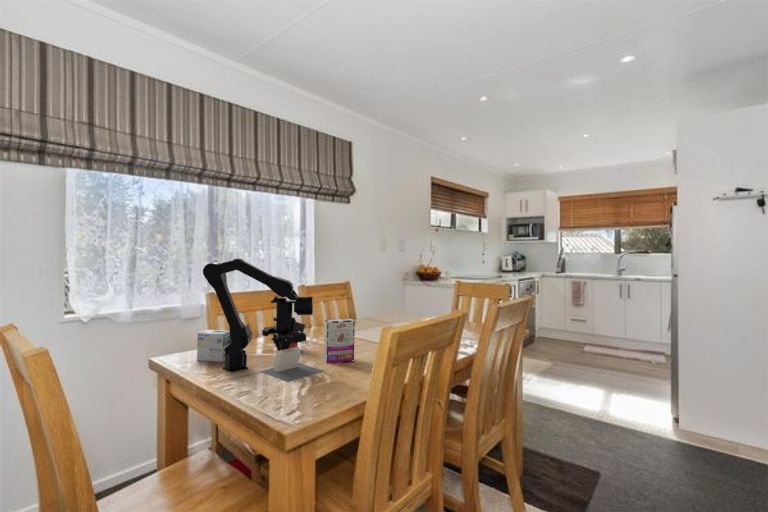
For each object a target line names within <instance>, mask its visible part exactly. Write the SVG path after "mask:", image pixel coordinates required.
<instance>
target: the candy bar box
mask: <svg viewBox="0 0 768 512" xmlns="http://www.w3.org/2000/svg"><path fill="white" fill-rule="evenodd" d="M355 324H356V322H355V319H354V318H339V319H337V318H335V319H324V349H323V350H324V356H323V357H324V358H323V359H324V362H325V363H326V364H333V363H334V362H337V363H344V362H343V361H352V360H354V361H355ZM334 364H335V363H334Z"/></svg>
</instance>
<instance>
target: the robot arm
mask: <svg viewBox="0 0 768 512" xmlns="http://www.w3.org/2000/svg"><path fill="white" fill-rule="evenodd" d="M234 271H239V272H240V273H242V274H244V275H245V276H247V277H250V278H251V279H254V280H256V281H258V282H260V284H263V285H265V286H266V287H268V288H269V289H270V290H271V291H272V292H273V293H275V294H276V295H275V296H274V297H273V298H272V299H271V301H270V304H276V305H275V306H276V307H275V317H273V322H275V325H273V326H266V327H263V329H262V331H261V335H262V336H263V337H268V336H269V335H273V336H272V338H271V341H272V342H273V344H274V346H275V348H276V349H277V351H280V350H285V349H288V348H289V346H290V344H291V343H298V344H299V343H302V342H303V343H304V342H306V341H307V334H306V333H305V332H304V331H305V328H306V324H304V323H301V322H298V321H297V320H296V318H295V317H293V313H295V314H296V316H313V315H314V314H313V313H314V304H313V303H314V302H313V300H314V299H313V298H314V297H313V296H299V295H298V293H296V291H295V290H294V284H293V283H292V282H291V280H288V279H286V278H282V277H278V276H274V275H272V274H270V273H268V272H266V271H264V270H262V269H260V268H259V267H256V266H255V265H253V264H251V263H249V262H247V261H245V260H244V259H242V258H235V259H233V260H230V261H226V262H225V261H224V262H221V263H220V262H211V263H207V264H206V265H205V266H204V267H203V269H202V275H203V277H204V278H205V280H206V281H207V283H208V284H209V285H210V286H211V288H213V290H214V291H215V294H216V297H217V300H218V302H219V304H220V307H221V310H222V311H223V314H224V317H225V319H226V321H227V324H228V327H229V330H228V331H230V339H231V343H230V344H229V345H228V346H227V347H226V348H225V349H224V351H225V361H224V366H222V369H223V370H225V371H227V372H229V373H235V372H239V371H242V370H247V369H249V367H248V366H247V361H248V359H247V358H248V356H247V350H245V349H246V348H247V347H248V346H249V344H250V343H251V342H252V339H253V334H254V333H253V332H252V330H251V327H250V323H246V324H245V323H244V322H243V321H242V319H241V316H240V314H239V312H238V309H237V306H236V304H235V302H234V299H233V297H232V294H231V292H230V289H229V287H228V284H227V283H228V281H227V279H228V278H227V274H229V273H232V272H234ZM296 331H297V332H296ZM291 332H293V333H291ZM285 334H286V335H285Z"/></svg>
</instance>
